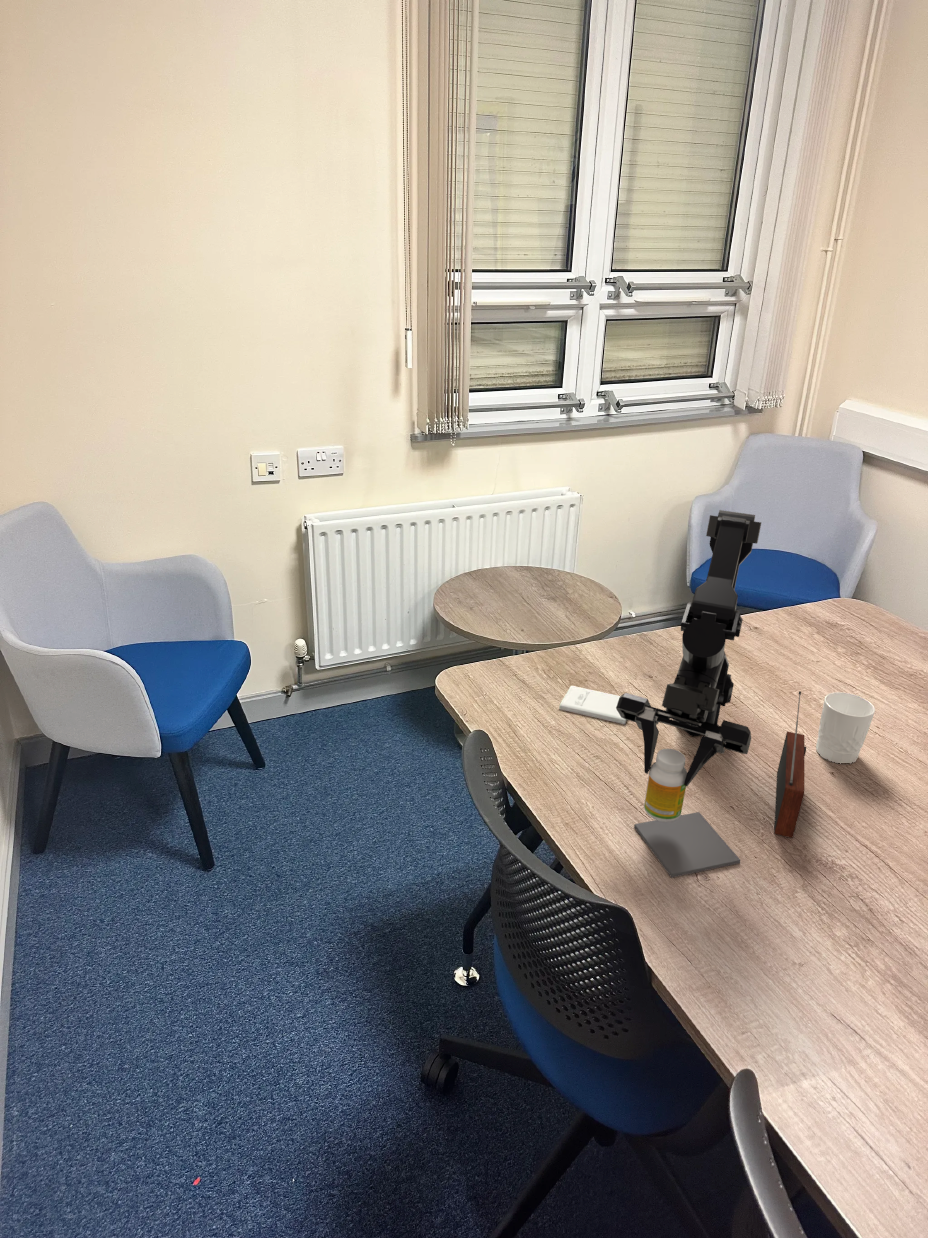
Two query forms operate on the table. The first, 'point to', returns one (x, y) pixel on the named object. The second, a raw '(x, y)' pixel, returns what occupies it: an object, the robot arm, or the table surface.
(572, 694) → the external hard drive
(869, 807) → the table surface
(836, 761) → the white cup
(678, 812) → the supplement bottle
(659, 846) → the coaster mat
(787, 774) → the radio
